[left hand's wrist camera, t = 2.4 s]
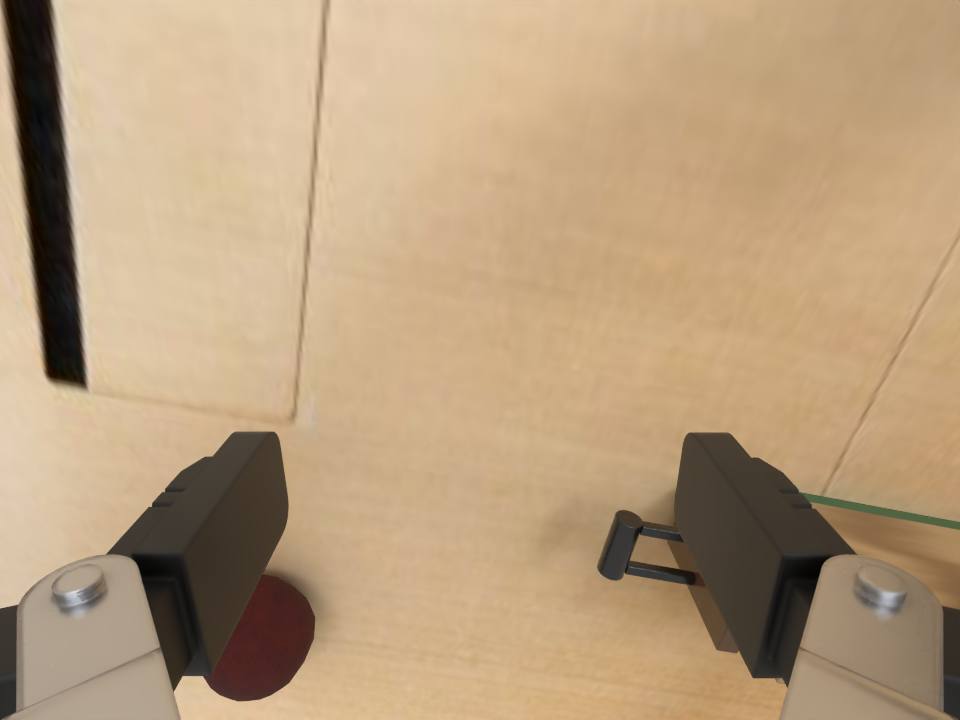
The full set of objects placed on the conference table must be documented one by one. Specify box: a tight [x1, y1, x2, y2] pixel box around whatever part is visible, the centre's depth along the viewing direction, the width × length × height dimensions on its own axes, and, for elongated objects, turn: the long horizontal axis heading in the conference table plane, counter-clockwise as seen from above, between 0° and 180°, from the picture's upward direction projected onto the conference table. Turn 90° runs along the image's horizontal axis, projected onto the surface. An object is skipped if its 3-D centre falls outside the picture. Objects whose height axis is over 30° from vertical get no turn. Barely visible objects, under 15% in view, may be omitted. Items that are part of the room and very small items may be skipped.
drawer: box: [597, 510, 739, 653], centre depth 34 cm, size 24×4×9 cm, turn 78°
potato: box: [203, 575, 315, 701], centre depth 38 cm, size 7×8×7 cm
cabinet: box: [775, 492, 960, 684], centre depth 34 cm, size 20×6×11 cm, turn 78°
